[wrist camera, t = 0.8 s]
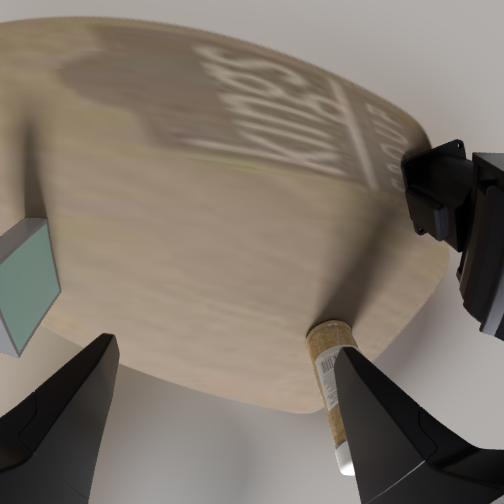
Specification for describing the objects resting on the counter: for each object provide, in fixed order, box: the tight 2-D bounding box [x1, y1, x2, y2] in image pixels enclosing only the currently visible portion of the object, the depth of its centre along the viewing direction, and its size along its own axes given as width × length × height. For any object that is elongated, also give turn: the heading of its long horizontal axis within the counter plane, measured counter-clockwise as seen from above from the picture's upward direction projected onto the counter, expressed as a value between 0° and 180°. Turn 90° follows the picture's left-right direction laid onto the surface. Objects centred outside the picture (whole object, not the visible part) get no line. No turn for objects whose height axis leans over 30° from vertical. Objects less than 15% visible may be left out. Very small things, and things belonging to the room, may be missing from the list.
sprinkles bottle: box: [305, 320, 362, 475], centre depth 21 cm, size 5×5×14 cm
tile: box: [0, 217, 61, 358], centre depth 17 cm, size 2×7×8 cm, turn 173°
